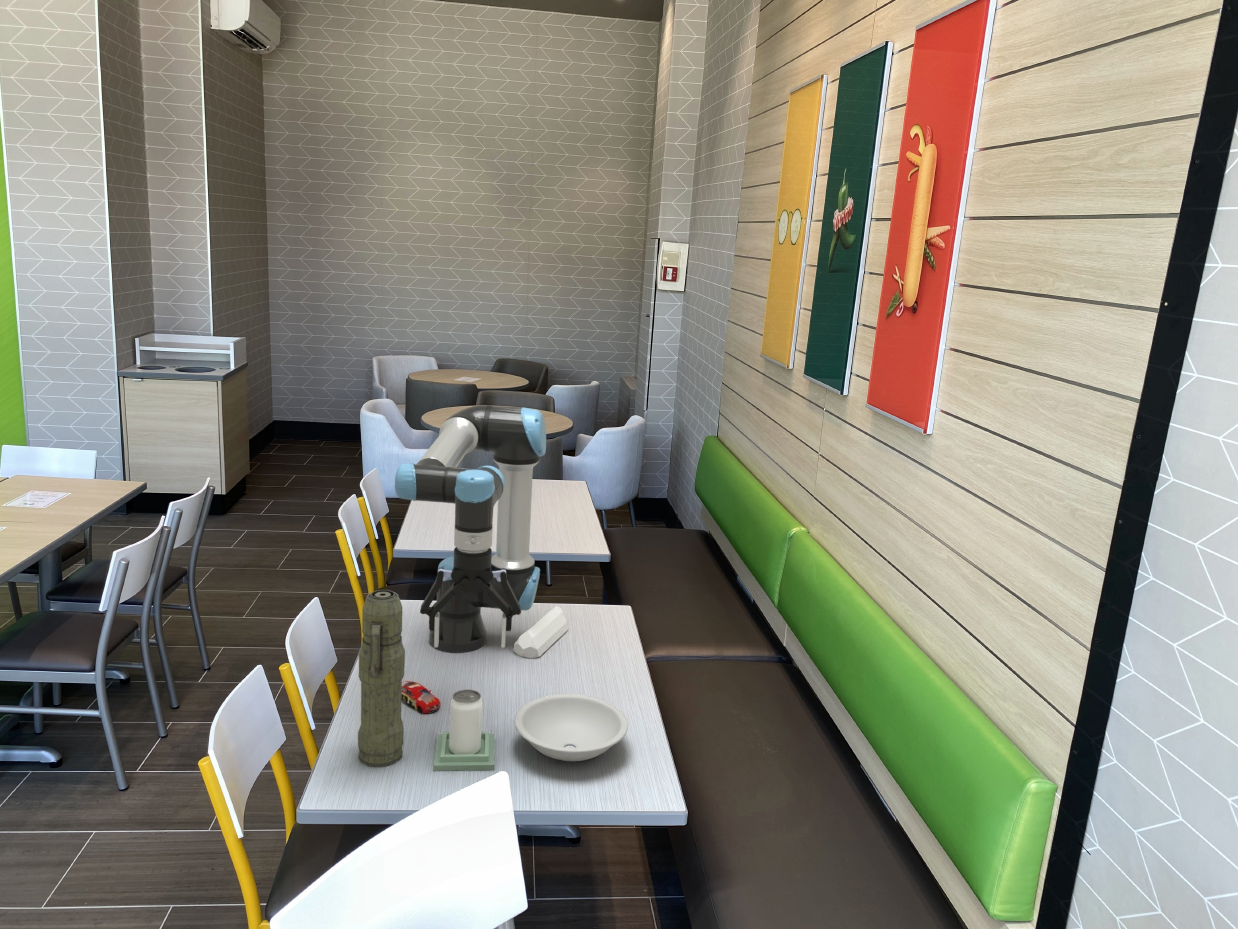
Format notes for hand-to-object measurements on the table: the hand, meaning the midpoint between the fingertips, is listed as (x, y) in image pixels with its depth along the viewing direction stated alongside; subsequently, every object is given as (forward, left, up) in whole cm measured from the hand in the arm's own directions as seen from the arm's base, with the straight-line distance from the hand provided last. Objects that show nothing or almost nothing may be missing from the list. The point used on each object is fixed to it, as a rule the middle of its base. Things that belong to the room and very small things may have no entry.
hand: (470, 644), depth 180 cm
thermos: (+4, -17, -23) cm, 29 cm away
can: (+4, 0, -21) cm, 22 cm away
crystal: (-52, +18, -23) cm, 59 cm away
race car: (-18, -12, -23) cm, 31 cm away
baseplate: (+4, 0, -22) cm, 23 cm away
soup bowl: (+2, +22, -23) cm, 32 cm away
